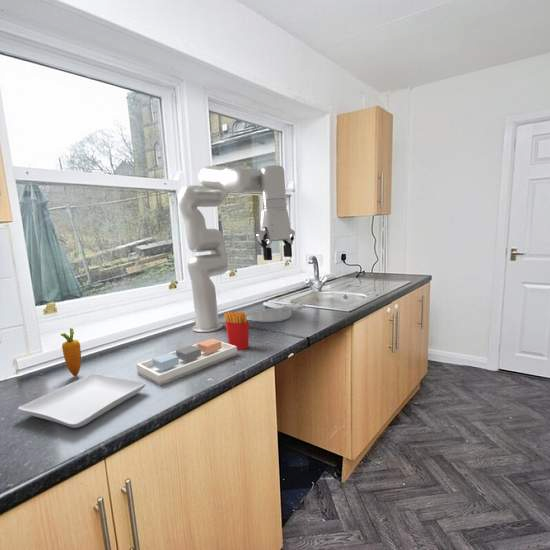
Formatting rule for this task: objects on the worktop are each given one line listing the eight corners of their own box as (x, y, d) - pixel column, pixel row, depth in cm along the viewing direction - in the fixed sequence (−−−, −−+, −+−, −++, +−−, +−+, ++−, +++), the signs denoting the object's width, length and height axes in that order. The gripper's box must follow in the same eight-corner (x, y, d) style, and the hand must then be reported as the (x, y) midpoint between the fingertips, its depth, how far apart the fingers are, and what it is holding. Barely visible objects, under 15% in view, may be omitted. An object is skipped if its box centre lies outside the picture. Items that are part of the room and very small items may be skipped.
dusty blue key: (153, 366, 105) (152, 358, 105) (169, 360, 109) (168, 352, 109) (162, 370, 101) (161, 362, 101) (179, 364, 105) (178, 356, 105)
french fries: (252, 346, 123) (249, 311, 121) (245, 350, 119) (242, 314, 118) (231, 344, 128) (228, 309, 126) (224, 347, 124) (221, 312, 122)
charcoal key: (176, 357, 111) (175, 350, 110) (191, 352, 115) (191, 345, 114) (186, 361, 107) (185, 354, 107) (201, 356, 111) (200, 348, 111)
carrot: (71, 381, 104) (64, 332, 102) (63, 378, 106) (55, 331, 104) (88, 374, 108) (81, 328, 106) (79, 372, 110) (72, 326, 108)
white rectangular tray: (137, 373, 106) (136, 364, 106) (212, 346, 126) (211, 338, 125) (159, 385, 96) (158, 375, 96) (237, 354, 116) (236, 346, 116)
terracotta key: (197, 350, 116) (197, 343, 116) (211, 345, 120) (211, 338, 120) (207, 353, 113) (206, 346, 112) (221, 348, 116) (220, 341, 116)
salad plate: (149, 392, 93) (148, 380, 93) (77, 438, 74) (74, 423, 74) (95, 383, 102) (93, 371, 102) (17, 421, 83) (15, 408, 83)
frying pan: (278, 309, 177) (277, 291, 175) (325, 320, 151) (324, 299, 149) (239, 319, 163) (238, 299, 162) (284, 333, 137) (282, 310, 135)
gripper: (284, 206, 121) (287, 255, 123) (247, 206, 108) (251, 261, 111) (300, 204, 116) (303, 255, 118) (263, 204, 103) (268, 261, 106)
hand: (278, 258), depth 114 cm, fingers open, 9 cm apart
